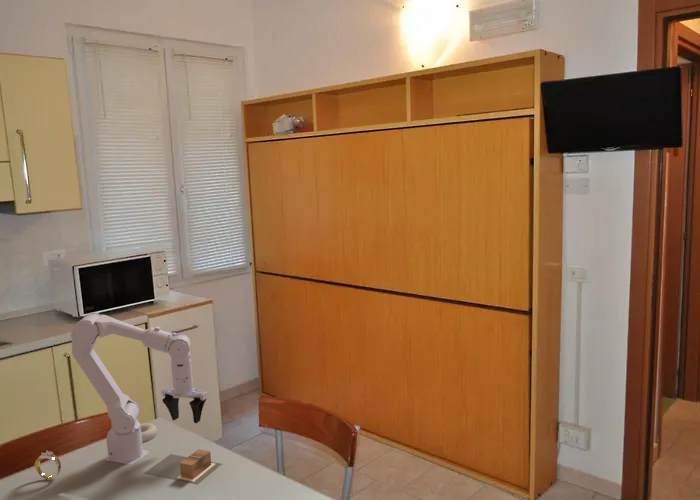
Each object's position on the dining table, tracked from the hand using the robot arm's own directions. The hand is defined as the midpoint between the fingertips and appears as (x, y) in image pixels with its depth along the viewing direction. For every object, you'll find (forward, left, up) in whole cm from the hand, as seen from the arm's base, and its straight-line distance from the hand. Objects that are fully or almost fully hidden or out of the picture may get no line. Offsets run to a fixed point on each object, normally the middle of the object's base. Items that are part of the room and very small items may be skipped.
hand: (186, 420), depth 168 cm
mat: (+6, -10, -9) cm, 15 cm away
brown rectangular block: (+11, -10, -9) cm, 17 cm away
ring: (-27, -26, -10) cm, 38 cm away
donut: (-20, +2, -10) cm, 23 cm away
